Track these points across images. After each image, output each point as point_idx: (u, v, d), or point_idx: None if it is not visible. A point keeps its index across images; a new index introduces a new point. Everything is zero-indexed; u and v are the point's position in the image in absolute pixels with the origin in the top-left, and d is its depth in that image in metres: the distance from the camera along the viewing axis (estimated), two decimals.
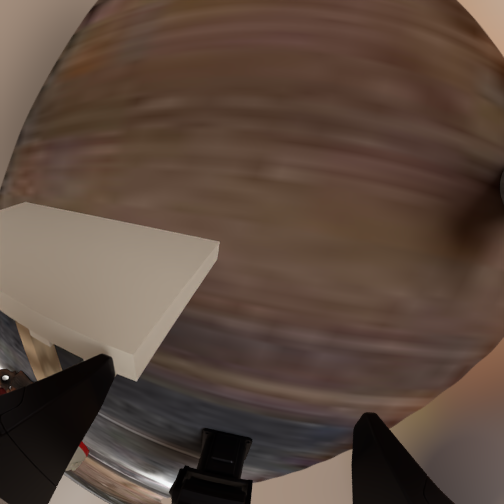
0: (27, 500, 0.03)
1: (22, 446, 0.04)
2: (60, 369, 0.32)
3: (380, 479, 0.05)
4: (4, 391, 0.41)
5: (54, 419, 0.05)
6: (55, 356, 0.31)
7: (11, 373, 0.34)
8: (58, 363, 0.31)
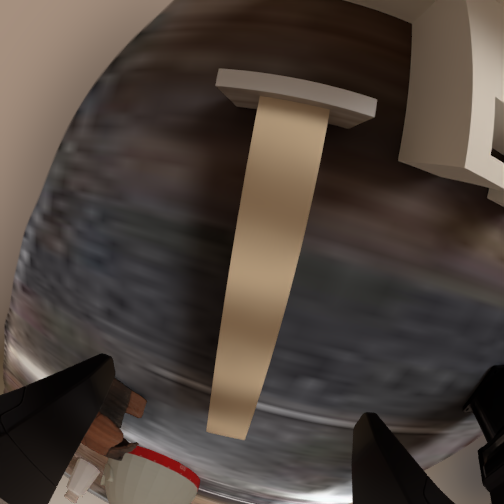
0: (27, 500, 0.03)
1: (22, 446, 0.04)
2: None
3: (380, 479, 0.05)
4: None
5: (54, 419, 0.05)
6: None
7: None
8: None
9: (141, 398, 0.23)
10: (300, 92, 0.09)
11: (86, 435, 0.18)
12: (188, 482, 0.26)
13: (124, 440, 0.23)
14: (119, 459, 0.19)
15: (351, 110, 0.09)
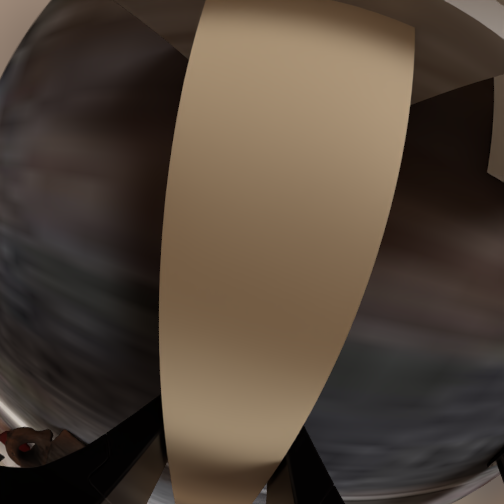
0: None
1: None
2: None
3: (281, 479, 0.05)
4: None
5: (145, 465, 0.05)
6: None
7: (41, 438, 0.13)
8: None
9: None
10: None
11: None
12: None
13: None
14: None
15: (487, 30, 0.01)
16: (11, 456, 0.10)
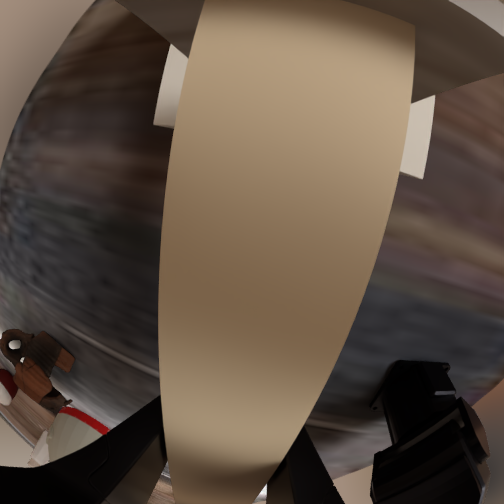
0: None
1: None
2: None
3: (281, 479, 0.05)
4: (4, 374, 0.31)
5: (145, 465, 0.05)
6: None
7: (26, 335, 0.23)
8: None
9: (69, 355, 0.25)
10: None
11: (25, 383, 0.20)
12: None
13: None
14: (51, 409, 0.22)
15: (487, 28, 0.01)
16: (2, 347, 0.20)
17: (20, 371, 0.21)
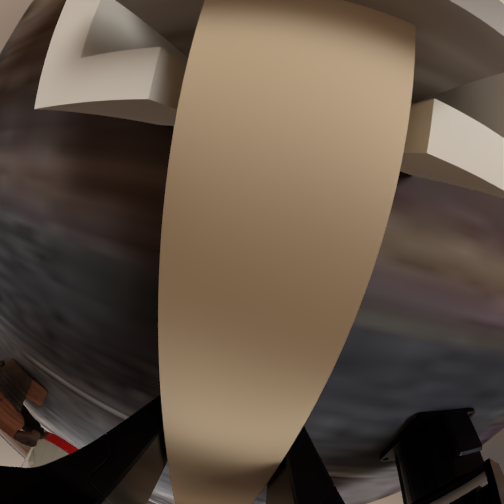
0: None
1: None
2: None
3: (281, 479, 0.05)
4: None
5: (145, 465, 0.05)
6: None
7: None
8: None
9: (41, 387, 0.19)
10: None
11: None
12: None
13: (41, 429, 0.20)
14: (27, 444, 0.16)
15: (487, 28, 0.01)
16: None
17: None
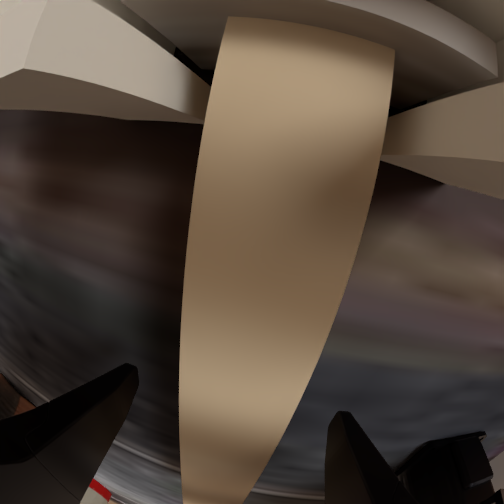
0: None
1: (49, 466, 0.04)
2: None
3: (349, 481, 0.05)
4: None
5: (81, 435, 0.05)
6: None
7: None
8: None
9: (30, 404, 0.16)
10: None
11: None
12: (90, 490, 0.20)
13: None
14: None
15: (453, 51, 0.02)
16: None
17: None
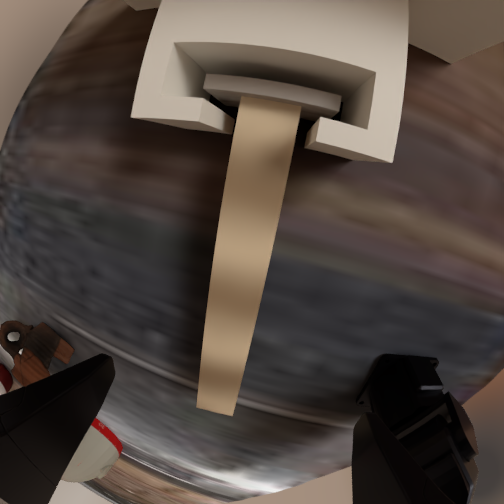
0: (27, 500, 0.03)
1: (22, 446, 0.04)
2: None
3: (380, 479, 0.05)
4: None
5: (54, 419, 0.05)
6: None
7: (24, 327, 0.23)
8: None
9: (68, 346, 0.25)
10: (274, 92, 0.11)
11: (23, 375, 0.20)
12: (105, 439, 0.29)
13: None
14: None
15: (318, 106, 0.11)
16: (0, 339, 0.20)
17: (18, 363, 0.20)
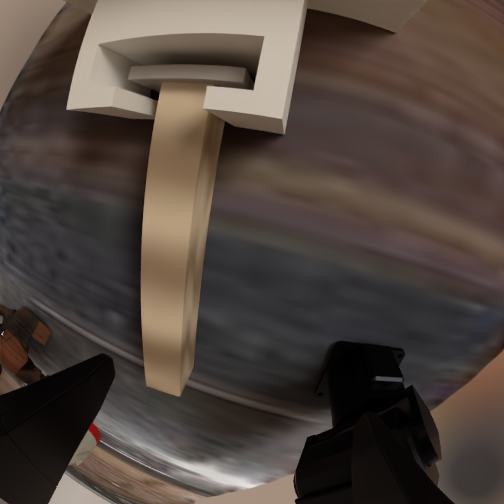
0: (27, 500, 0.03)
1: (22, 446, 0.04)
2: (198, 299, 0.21)
3: (380, 479, 0.05)
4: None
5: (54, 419, 0.05)
6: (201, 265, 0.20)
7: (7, 310, 0.23)
8: (199, 284, 0.20)
9: (46, 328, 0.25)
10: (184, 74, 0.11)
11: (4, 355, 0.21)
12: None
13: (42, 375, 0.26)
14: (28, 383, 0.22)
15: (223, 80, 0.11)
16: None
17: (0, 343, 0.21)
